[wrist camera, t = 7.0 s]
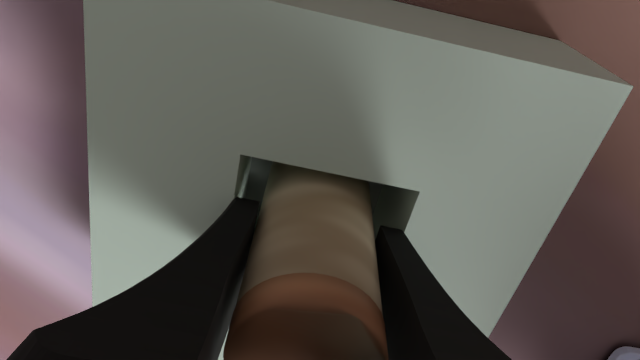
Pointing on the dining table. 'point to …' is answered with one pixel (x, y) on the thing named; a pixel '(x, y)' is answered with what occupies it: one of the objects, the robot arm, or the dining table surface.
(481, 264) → the socket block
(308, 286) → the dowel
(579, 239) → the dining table surface
